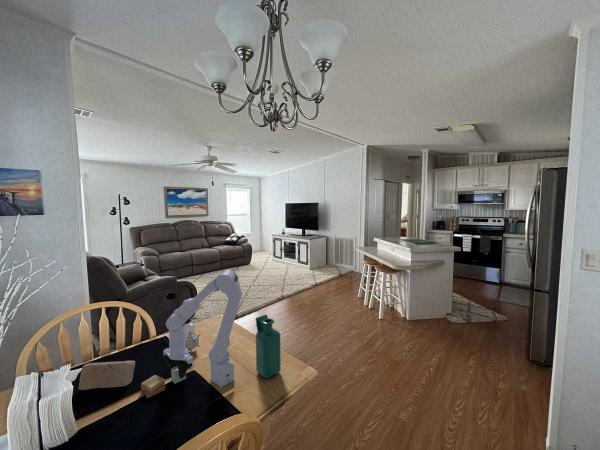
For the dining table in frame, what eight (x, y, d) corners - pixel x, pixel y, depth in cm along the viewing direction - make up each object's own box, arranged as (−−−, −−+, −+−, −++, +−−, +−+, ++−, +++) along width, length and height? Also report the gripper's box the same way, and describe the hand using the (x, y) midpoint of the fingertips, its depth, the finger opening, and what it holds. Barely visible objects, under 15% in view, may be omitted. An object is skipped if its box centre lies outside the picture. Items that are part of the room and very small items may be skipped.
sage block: (186, 378, 104) (185, 366, 103) (174, 383, 100) (174, 371, 100) (182, 375, 106) (182, 363, 105) (171, 380, 103) (171, 368, 102)
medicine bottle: (195, 337, 136) (194, 315, 135) (182, 343, 130) (182, 320, 129) (187, 333, 140) (186, 312, 139) (174, 339, 134) (173, 317, 133)
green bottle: (282, 371, 108) (282, 320, 106) (265, 380, 102) (265, 326, 101) (269, 360, 115) (268, 313, 114) (252, 368, 110) (252, 318, 108)
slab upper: (164, 383, 98) (164, 378, 98) (151, 393, 94) (150, 388, 93) (155, 379, 101) (155, 374, 101) (141, 388, 96) (141, 383, 96)
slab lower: (165, 391, 97) (165, 385, 97) (147, 399, 93) (147, 394, 93) (159, 383, 102) (159, 378, 101) (142, 391, 97) (142, 386, 97)
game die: (204, 347, 127) (203, 327, 126) (195, 357, 118) (194, 336, 117) (186, 346, 127) (186, 326, 127) (177, 356, 119) (176, 335, 118)
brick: (135, 359, 104) (131, 362, 100) (132, 382, 102) (127, 386, 98) (88, 362, 100) (81, 365, 96) (83, 386, 98) (76, 390, 94)
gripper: (198, 342, 102) (199, 374, 103) (173, 334, 109) (174, 365, 110) (183, 351, 96) (185, 385, 97) (158, 342, 102) (159, 374, 103)
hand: (178, 375), depth 103 cm, fingers closed on sage block, 4 cm apart
